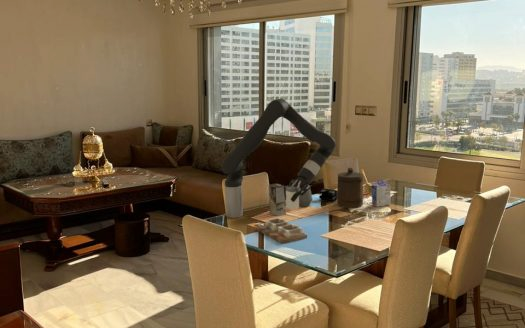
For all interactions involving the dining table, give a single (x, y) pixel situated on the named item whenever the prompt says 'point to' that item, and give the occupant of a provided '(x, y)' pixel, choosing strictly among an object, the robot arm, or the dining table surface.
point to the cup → (305, 199)
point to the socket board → (281, 230)
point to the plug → (289, 193)
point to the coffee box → (277, 199)
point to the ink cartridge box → (381, 194)
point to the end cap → (328, 195)
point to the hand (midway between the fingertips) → (289, 199)
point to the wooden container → (350, 189)
